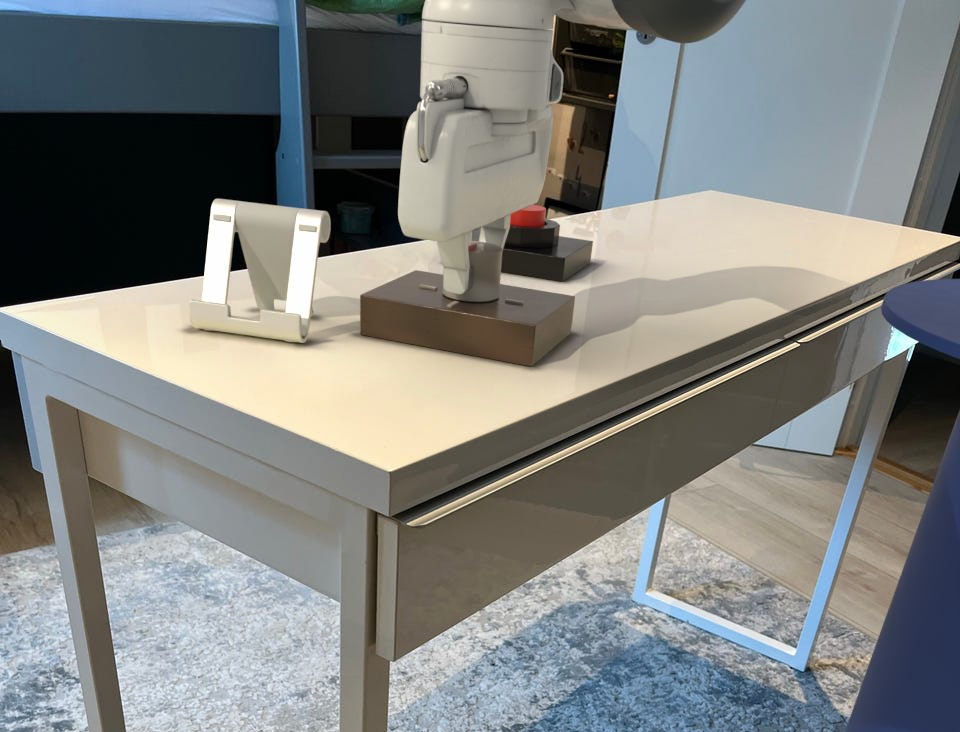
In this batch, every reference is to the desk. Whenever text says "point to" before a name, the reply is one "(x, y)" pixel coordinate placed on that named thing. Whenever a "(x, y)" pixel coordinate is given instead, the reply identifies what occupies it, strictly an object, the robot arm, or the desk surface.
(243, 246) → the tablet stand
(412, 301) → the panel
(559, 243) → the button box
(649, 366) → the desk surface
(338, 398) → the desk surface
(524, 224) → the button
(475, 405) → the desk surface
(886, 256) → the desk surface
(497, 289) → the dial
